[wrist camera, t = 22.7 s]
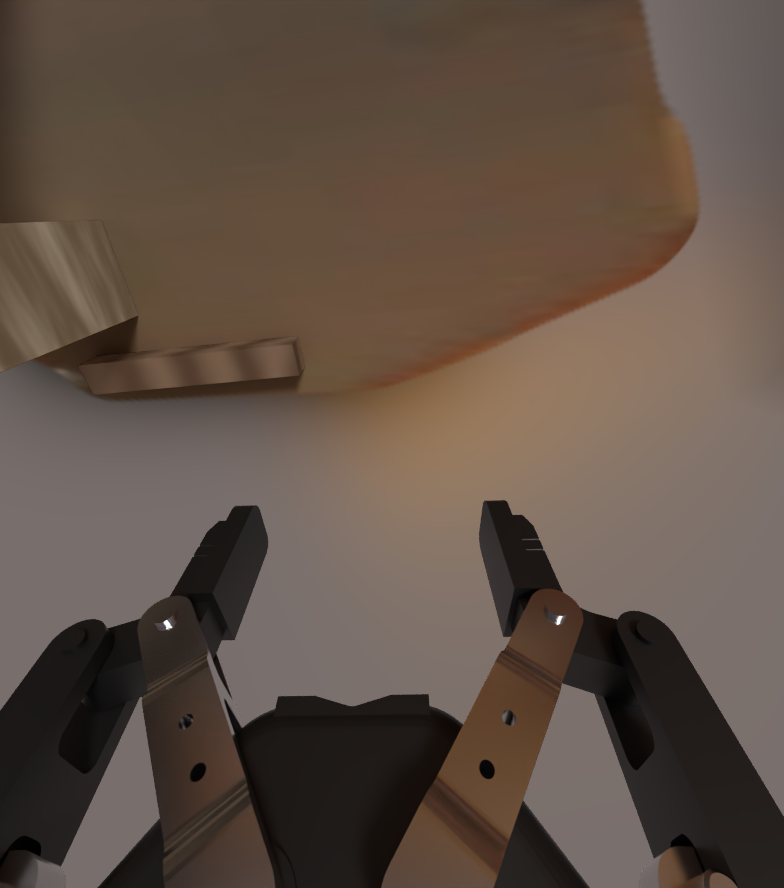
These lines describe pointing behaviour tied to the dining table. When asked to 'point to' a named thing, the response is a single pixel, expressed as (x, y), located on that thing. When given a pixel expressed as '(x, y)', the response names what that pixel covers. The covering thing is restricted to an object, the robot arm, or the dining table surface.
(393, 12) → the dining table surface
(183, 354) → the bar
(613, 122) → the dining table surface
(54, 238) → the stand
